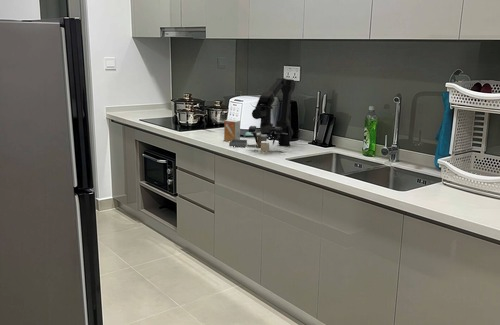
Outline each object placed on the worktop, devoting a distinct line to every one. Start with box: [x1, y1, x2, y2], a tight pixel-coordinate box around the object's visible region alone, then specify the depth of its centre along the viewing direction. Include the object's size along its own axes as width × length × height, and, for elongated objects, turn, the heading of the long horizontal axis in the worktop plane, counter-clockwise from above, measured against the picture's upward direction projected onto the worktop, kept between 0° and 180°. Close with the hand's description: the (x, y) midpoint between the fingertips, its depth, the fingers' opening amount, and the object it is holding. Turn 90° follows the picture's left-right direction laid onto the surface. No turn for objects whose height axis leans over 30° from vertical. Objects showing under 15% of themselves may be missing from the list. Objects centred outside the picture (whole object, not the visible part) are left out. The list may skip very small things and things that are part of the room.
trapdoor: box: [244, 131, 268, 142], centre depth 287 cm, size 12×9×4 cm
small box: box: [223, 119, 241, 142], centre depth 300 cm, size 8×6×13 cm
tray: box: [228, 139, 248, 148], centre depth 288 cm, size 9×12×2 cm
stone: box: [260, 142, 270, 152], centre depth 274 cm, size 5×5×4 cm
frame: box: [256, 131, 263, 149], centre depth 287 cm, size 5×13×8 cm, turn 175°
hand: (265, 144), depth 274 cm, fingers open, 9 cm apart
